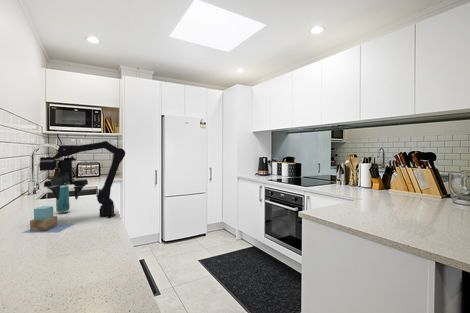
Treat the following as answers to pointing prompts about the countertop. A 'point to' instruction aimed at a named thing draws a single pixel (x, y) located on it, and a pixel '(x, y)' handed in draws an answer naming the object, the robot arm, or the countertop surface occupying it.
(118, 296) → the countertop surface
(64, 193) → the beverage bottle
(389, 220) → the countertop surface
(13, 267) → the countertop surface
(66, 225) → the blue flat board
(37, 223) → the walnut base block
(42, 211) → the teal cube
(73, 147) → the robot arm
